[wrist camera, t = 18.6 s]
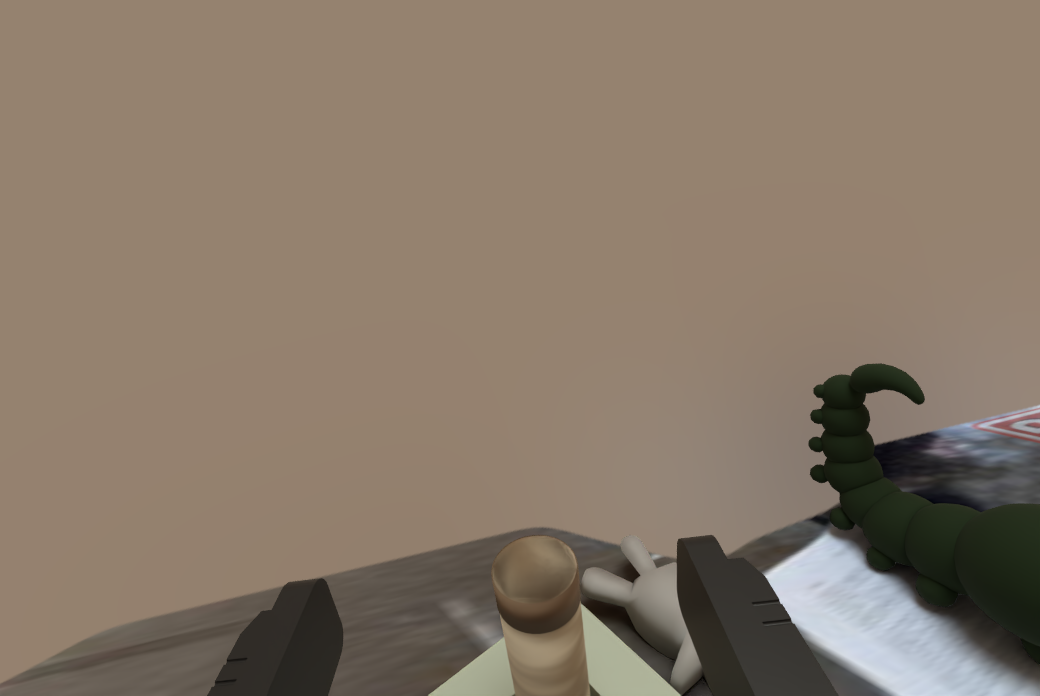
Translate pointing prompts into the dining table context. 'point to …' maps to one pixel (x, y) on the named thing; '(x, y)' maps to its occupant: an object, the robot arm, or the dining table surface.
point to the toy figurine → (926, 515)
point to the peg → (542, 616)
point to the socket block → (611, 667)
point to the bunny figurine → (650, 609)
